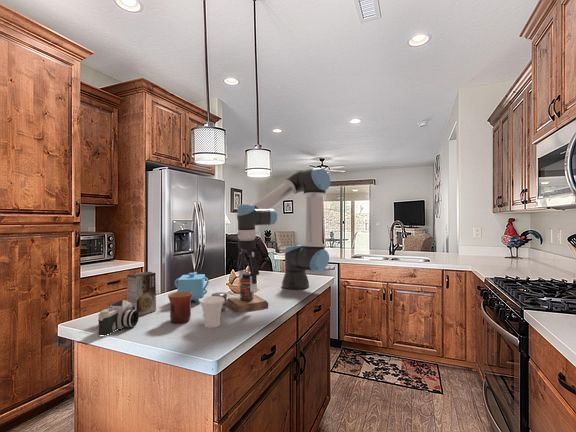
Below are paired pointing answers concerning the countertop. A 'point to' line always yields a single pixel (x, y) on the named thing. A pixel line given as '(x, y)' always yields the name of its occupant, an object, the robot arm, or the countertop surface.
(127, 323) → the camera
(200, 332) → the countertop surface
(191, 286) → the teapot
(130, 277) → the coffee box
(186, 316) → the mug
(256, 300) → the stand
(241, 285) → the supplement bottle
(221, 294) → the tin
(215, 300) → the cup
